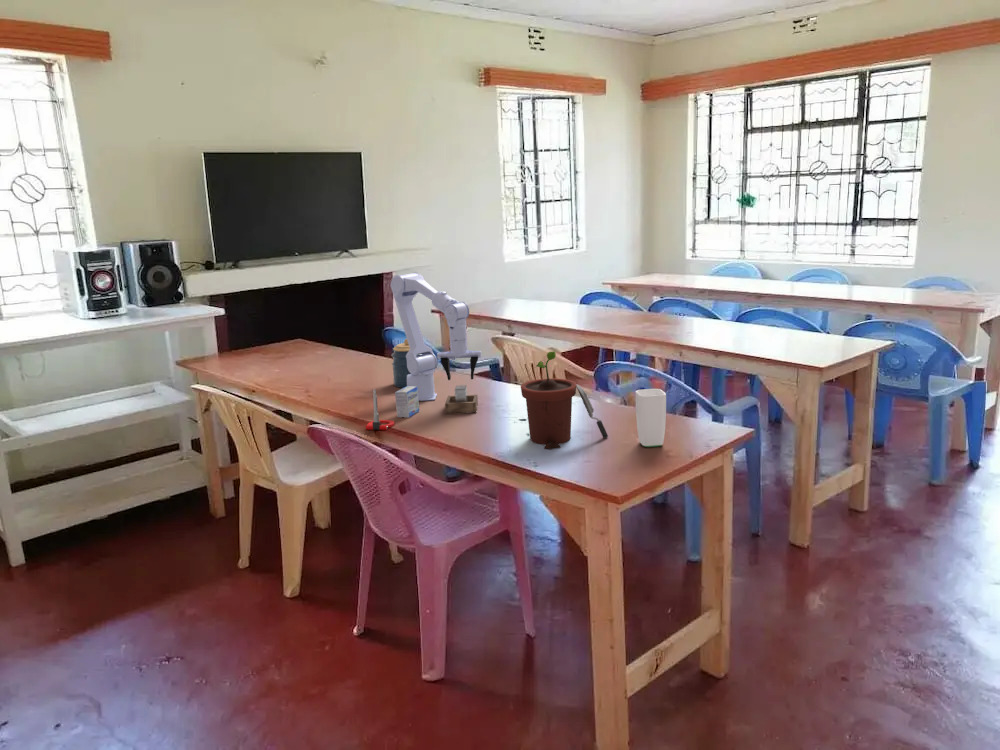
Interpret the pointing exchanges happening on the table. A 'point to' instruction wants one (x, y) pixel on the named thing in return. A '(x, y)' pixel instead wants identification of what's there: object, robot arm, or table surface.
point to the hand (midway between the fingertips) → (460, 379)
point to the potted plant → (553, 408)
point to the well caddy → (461, 405)
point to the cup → (651, 416)
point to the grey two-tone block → (461, 393)
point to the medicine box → (407, 401)
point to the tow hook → (377, 423)
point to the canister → (400, 364)
